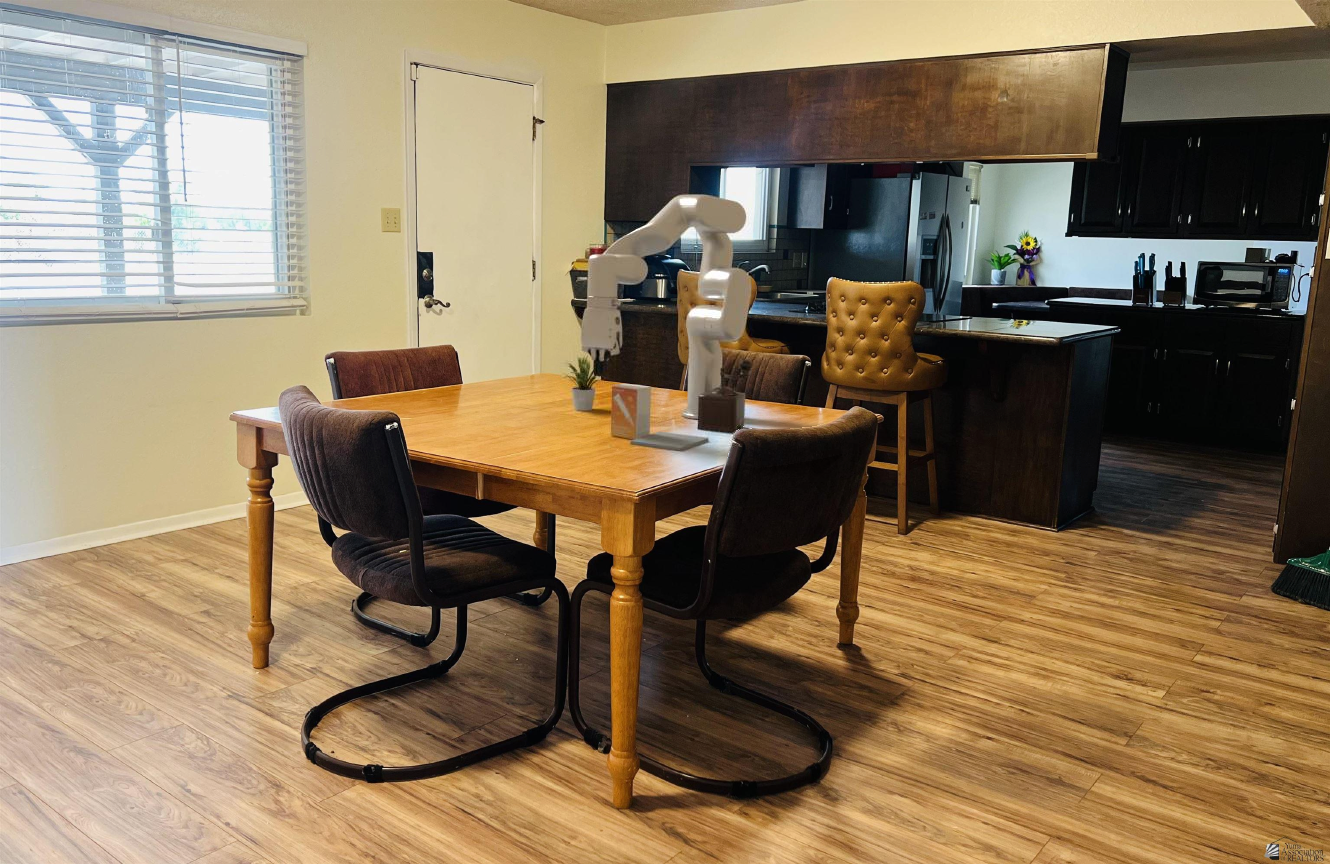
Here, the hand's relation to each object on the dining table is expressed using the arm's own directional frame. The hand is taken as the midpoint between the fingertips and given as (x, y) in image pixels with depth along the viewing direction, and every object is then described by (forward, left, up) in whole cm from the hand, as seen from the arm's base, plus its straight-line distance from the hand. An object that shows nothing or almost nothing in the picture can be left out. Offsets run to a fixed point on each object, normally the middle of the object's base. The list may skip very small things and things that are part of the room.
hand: (599, 375), depth 262 cm
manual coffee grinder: (-28, +23, -15) cm, 39 cm away
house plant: (-28, -24, -15) cm, 39 cm away
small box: (-1, +9, -15) cm, 18 cm away
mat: (0, +21, -15) cm, 26 cm away
